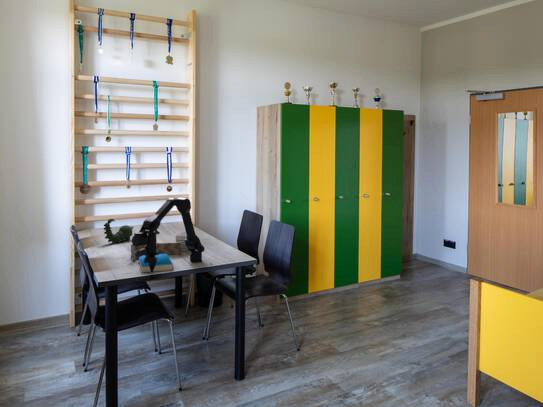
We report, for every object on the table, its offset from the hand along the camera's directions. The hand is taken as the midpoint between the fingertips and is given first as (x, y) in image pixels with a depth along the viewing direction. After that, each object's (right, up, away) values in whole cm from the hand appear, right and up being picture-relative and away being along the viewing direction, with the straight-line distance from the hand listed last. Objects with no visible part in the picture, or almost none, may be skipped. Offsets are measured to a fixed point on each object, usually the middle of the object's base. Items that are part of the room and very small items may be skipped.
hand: (152, 271), depth 245 cm
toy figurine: (-44, +9, +83) cm, 94 cm away
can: (+7, +5, +53) cm, 54 cm away
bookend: (-19, +3, +32) cm, 37 cm away
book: (-3, 0, +18) cm, 18 cm away
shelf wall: (-8, +4, +41) cm, 42 cm away
